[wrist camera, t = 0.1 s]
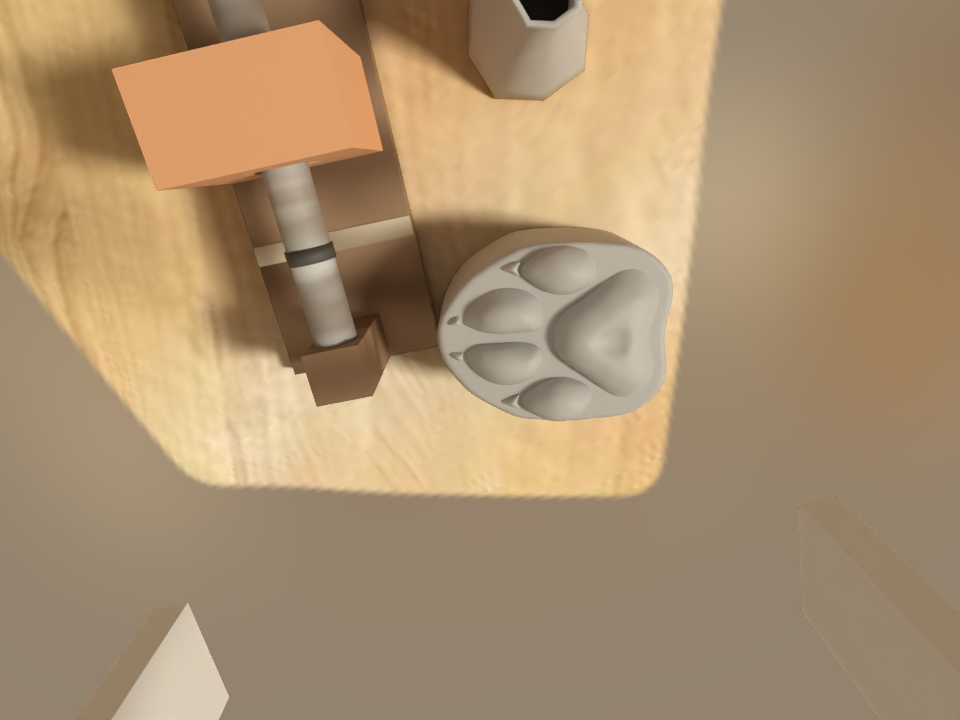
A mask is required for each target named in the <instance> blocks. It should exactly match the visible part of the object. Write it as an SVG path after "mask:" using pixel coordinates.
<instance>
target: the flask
mask: <svg viewBox="0 0 960 720" xmlns="http://www.w3.org/2000/svg"><path fill="white" fill-rule="evenodd" d="M588 25H589V13H588V11H587V10H586V8H585V6H584V4H583V2H582V0H469V31H468V56H469V57H470V59H471V60H472V62H473V64H474V65H475V67H476V68H477V70H478V71H479V73H480V75H481V76H482V78H483V79H484V81H485V83H486V84H487V86H488V87H489V89H490V90H491V92H492V94H493V95H494V97H495V98H496V99H517V100H543V101H544V100H545V99H546V98H548V97H549V96H550V95H552V94H553V93H554V92H556V91H557V90H559V89H560V88H561V87H563V86H564V85H565V84H567V83H568V82H569V81H571V80H572V79H573V78H575V77H576V76H577V75H579V74H580V73H581V72H583V71H584V70H585V60H586V48H587V36H588Z"/></svg>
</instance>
